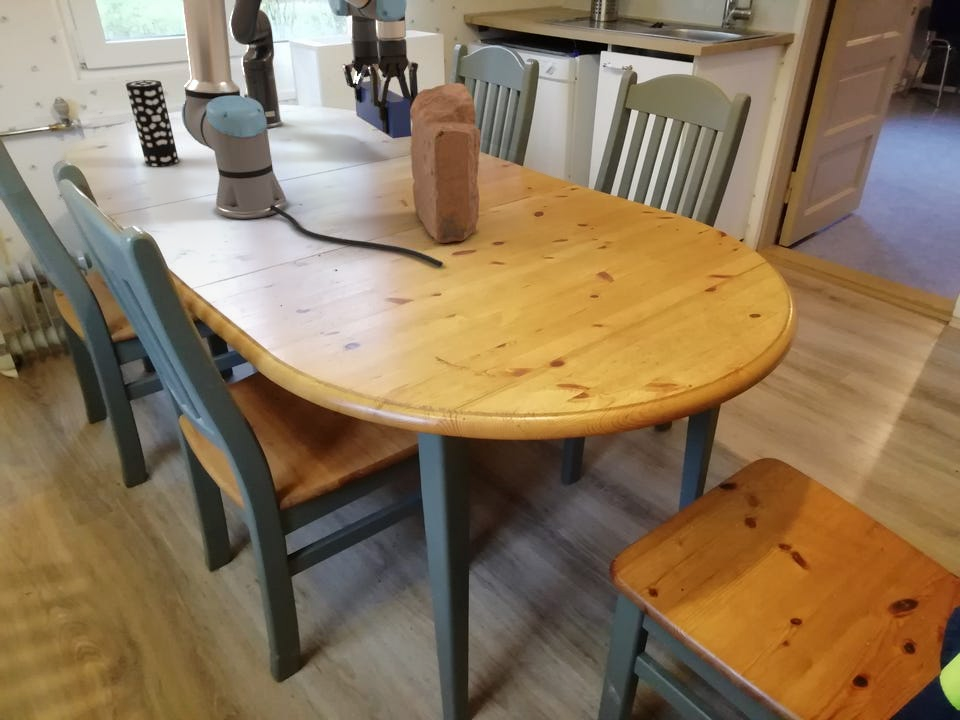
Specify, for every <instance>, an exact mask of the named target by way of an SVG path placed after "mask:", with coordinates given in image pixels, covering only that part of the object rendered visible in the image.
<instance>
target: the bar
mask: <svg viewBox="0 0 960 720" xmlns="http://www.w3.org/2000/svg"><path fill="white" fill-rule="evenodd" d="M360 89H361V99H362V102H361V103H359V102H357V100H356V99H355V98H354V100H355V112H356V113H355V114H356V116H357V117H358V118H360V119H361V120H363V121H364V122H366V123H368V124H369V125H370V126H372V127H374V128H376V129H377V130H379V131H380V132H382V133H383V134H385V135H387V136H388V137H390V138H391V139H400V138H401V139H402V138H408V137H411V133H412V120H411V116H410V100H408V99H406V98H404V97H403V95H402V96H401V94H398V93H395V92H394V91H392V90H390V89H388V92H387V98H386V103H385V107H386V108H388V123H389V133H387V134H386V133H385V132H383V127H382V121H381V120H380V119H379V114H378V107H376V106H374V105H372V104H371V96H370V80H369V81H367V80H366V81H362V83H361V86H360ZM379 92H380V85H378V97H379Z"/></svg>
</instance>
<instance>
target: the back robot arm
mask: <svg viewBox="0 0 960 720" xmlns="http://www.w3.org/2000/svg"><path fill="white" fill-rule="evenodd" d="M262 2H263V0H235V2H234V5H233V7H232V12H231V15H230V20H229V28H230V33H231V36H232V38H233V40H234V41H235V42H236V43H238V44H240V45H241V46H242V45H243V46H247V49H246V51H245V53H244V55H242V57H241V60H240V63H241V68H242V74H243V75H242V76H243V81H244V86H245V93H244V94H243V95H244V96H243V97H249V98H252V99H254V100H256V101H258V102H259V103H260V104H261V106H262V107H263V110H264V115H265V117H266V122H267V129H271V128H276V127H280V126H281V125H282V119H281V118H282V117H281V111H280V105H279V97H278V89H277V82H276V76H275V68H274V58H275V47H274V37H273V36H274V35H273V29H272V24H271V20H270V18H269V16H268V15H267V14H266V12H265V11H264V10H262V9H261V6H262ZM349 17H350V42H351V55H352V61H351V63H347V64H345V63H343V64H342V70H343V74H344V78H345V82H346V85H347V86H348V87H350V88H352V89H353V91H354V100H355V99H356V100H357V102H359V103H361V102H362V99H361V89H360V86H361V83H362V82H364V78H368V77H370V74H369V72H368V69H367V66H368V65H371V66H372V65H374V64H376V63H377V60H378V51H377V40H378V39H379V38H378V37H377V34H376V19H371V18H365V17H360V16H349ZM353 69H354V71H355V74H354V79H353V75H352V72H353ZM378 70H380V69H379V68H378ZM377 78H378V85H380V86H381V81H382V79H381V76H380V74H379V72H378V73H377Z"/></svg>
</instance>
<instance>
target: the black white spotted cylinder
mask: <svg viewBox="0 0 960 720" xmlns="http://www.w3.org/2000/svg"><path fill="white" fill-rule="evenodd" d="M125 87H126V91H127V95H128V99H129V103H130V107H131V110H132V115H133V118H134V122H135V123H134V124H135V127H136V130H137V134H138V139H139V143H140V146H141V150H142V155H143V158H144V163H145V164H146V165H147V166H151V167H164V166H170V165H174V164H176V163H178V162H179V155H178V150H177V146H176V142H175V137H174V133H173V128H172V125H171V121H170V116H169V111H168V107H167V103H166V98H165V93H164V89H163V84H162V81H161V80H155V79H154V80H153V79H151V80H150V79H145V80H144V79H141V80H134V81H130V82H129V81H128V82H127V83H126V84H125Z"/></svg>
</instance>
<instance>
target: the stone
mask: <svg viewBox="0 0 960 720" xmlns="http://www.w3.org/2000/svg"><path fill="white" fill-rule="evenodd" d="M410 116H411V136H410V162H411V174H412V179H413V185H412V193H413V195H412V196H413V205H414V209H415V212H416V214H417V215H418V217H419V219H420V221H421V223H422V224H423V225H424V227H425V230H426V231H427V232H428V234H429V235H430V237H432V238H434V240H435V242H437V243H439V244H447V243H451V242H462V241H464V240H467V239H468V238H469V237H470V235H472V234H474V233H475V232H476V229H477V224H478V221H479V218H480V217H479V216H480V215H479V207H480V192H479V185H478V174H479V164H480V162H479V160H480V159H479V158H480V150H481V139H482V138H481V129H478V127H477V125H476V107H475V103H474V98H473V95H472V93H470V92H469V91H468V88H467V87H466V86H465V84H464V83H460V82H455V83H445V84H442V85H437V86H435V87H432V88H424V89H421V91H420V90H419V91H418V95H417V96H416V98H415V100H414V102H413V104H412V106H411V109H410Z"/></svg>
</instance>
